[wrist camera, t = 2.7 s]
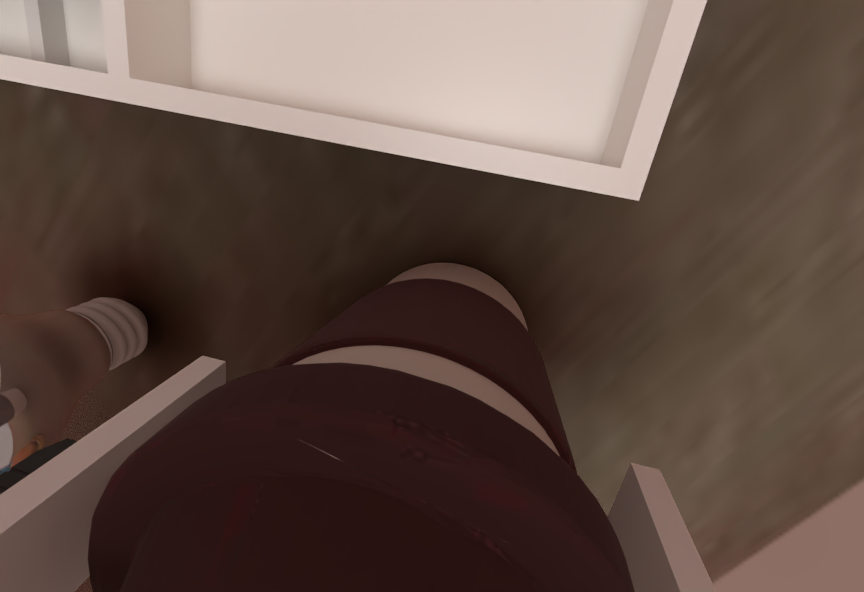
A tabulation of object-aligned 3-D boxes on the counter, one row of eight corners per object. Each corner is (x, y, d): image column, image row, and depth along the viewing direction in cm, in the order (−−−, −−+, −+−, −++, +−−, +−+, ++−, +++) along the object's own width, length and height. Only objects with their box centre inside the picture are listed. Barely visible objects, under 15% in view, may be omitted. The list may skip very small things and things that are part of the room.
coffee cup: (333, 229, 19) (-147, 459, 5) (565, 228, 17) (799, 568, 3) (354, 419, 22) (94, 881, 8) (552, 434, 21) (642, 1041, 7)
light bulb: (57, 259, 22) (-406, 376, 11) (173, 246, 21) (-220, 365, 10) (106, 379, 24) (-238, 580, 13) (215, 374, 23) (-67, 595, 12)
